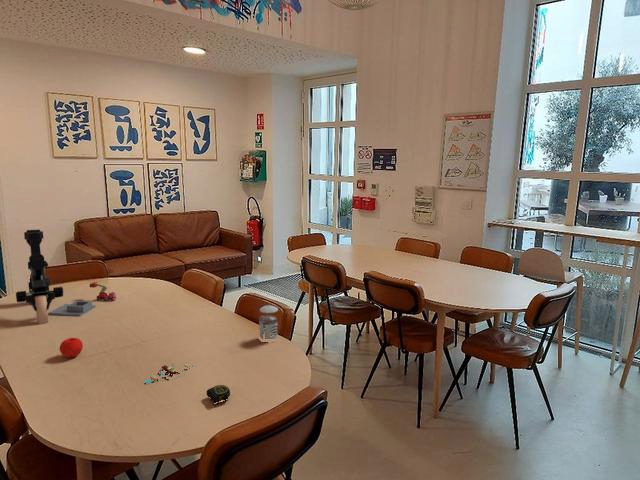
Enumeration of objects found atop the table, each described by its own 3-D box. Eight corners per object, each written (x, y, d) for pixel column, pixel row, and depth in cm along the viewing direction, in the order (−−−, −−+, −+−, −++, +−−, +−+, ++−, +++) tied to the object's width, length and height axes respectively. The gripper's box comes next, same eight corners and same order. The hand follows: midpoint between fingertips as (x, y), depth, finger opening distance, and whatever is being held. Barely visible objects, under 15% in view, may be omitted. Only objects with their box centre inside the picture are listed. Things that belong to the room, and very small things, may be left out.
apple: (59, 362, 164) (58, 344, 163) (60, 354, 171) (59, 336, 170) (83, 358, 168) (82, 340, 167) (83, 350, 175) (82, 333, 174)
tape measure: (205, 398, 143) (205, 387, 143) (225, 392, 147) (225, 382, 146) (213, 407, 138) (213, 397, 137) (233, 401, 141) (233, 391, 141)
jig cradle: (48, 314, 213) (47, 307, 212) (65, 305, 227) (65, 298, 226) (80, 316, 212) (79, 308, 212) (95, 307, 226) (95, 299, 226)
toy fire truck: (113, 301, 236) (112, 284, 234) (90, 300, 237) (89, 283, 235) (117, 299, 239) (116, 283, 237) (93, 298, 240) (92, 281, 239)
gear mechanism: (138, 379, 154) (151, 389, 148) (137, 365, 153) (150, 374, 147) (187, 361, 169) (201, 369, 163) (186, 348, 168) (200, 356, 162)
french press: (283, 337, 195) (284, 283, 191) (270, 346, 185) (270, 290, 181) (265, 332, 199) (265, 280, 195) (250, 341, 189) (251, 286, 185)
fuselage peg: (35, 324, 201) (32, 298, 199) (41, 320, 205) (39, 295, 203) (44, 324, 201) (42, 298, 198) (50, 321, 205) (48, 295, 203)
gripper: (14, 275, 197) (16, 304, 190) (61, 270, 207) (65, 298, 200) (15, 287, 204) (17, 316, 197) (61, 282, 215) (64, 309, 208)
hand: (41, 310), depth 201 cm, fingers closed on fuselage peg, 4 cm apart
